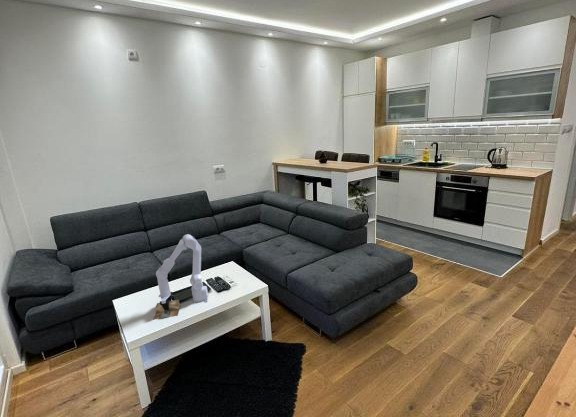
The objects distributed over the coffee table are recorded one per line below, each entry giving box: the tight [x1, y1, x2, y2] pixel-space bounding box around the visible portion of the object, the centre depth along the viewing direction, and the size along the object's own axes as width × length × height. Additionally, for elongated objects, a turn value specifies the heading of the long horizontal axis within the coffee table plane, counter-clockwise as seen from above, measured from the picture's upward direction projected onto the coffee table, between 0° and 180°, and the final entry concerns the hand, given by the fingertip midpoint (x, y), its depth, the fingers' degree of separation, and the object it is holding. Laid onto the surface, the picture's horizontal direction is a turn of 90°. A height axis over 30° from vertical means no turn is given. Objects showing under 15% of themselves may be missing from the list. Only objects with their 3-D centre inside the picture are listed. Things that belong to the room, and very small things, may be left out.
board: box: [152, 306, 181, 321], centre depth 185 cm, size 14×11×1 cm
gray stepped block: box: [161, 310, 171, 319], centre depth 181 cm, size 5×4×2 cm
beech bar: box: [155, 299, 181, 312], centre depth 188 cm, size 13×4×4 cm, turn 100°
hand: (168, 307), depth 188 cm, fingers open, 7 cm apart
